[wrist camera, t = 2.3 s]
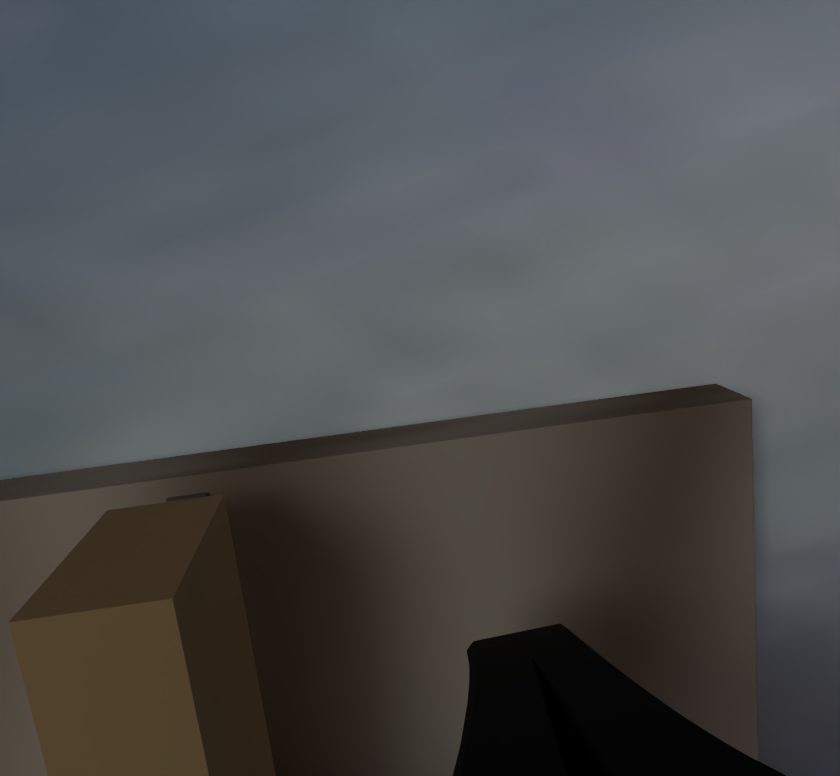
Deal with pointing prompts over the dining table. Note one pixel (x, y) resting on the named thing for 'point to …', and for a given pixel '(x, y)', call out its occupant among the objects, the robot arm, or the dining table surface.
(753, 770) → the robot arm
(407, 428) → the post board
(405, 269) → the dining table surface
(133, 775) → the lever with round base
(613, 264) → the dining table surface
